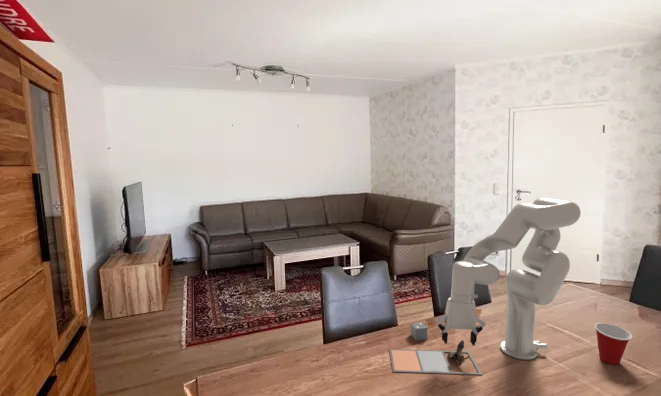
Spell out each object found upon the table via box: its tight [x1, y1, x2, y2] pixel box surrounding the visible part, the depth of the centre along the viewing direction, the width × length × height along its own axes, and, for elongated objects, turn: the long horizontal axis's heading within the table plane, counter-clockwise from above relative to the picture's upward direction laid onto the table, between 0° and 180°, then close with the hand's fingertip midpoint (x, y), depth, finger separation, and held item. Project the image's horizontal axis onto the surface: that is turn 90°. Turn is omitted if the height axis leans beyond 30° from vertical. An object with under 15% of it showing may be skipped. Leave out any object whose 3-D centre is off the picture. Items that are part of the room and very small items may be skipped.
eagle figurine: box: [447, 339, 470, 367], centre depth 134 cm, size 8×7×9 cm
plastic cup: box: [594, 322, 633, 366], centre depth 132 cm, size 11×11×12 cm
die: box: [410, 321, 428, 341], centre depth 151 cm, size 5×5×5 cm
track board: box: [388, 348, 483, 376], centre depth 133 cm, size 30×15×1 cm, turn 86°
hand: (458, 342), depth 131 cm, fingers open, 9 cm apart
